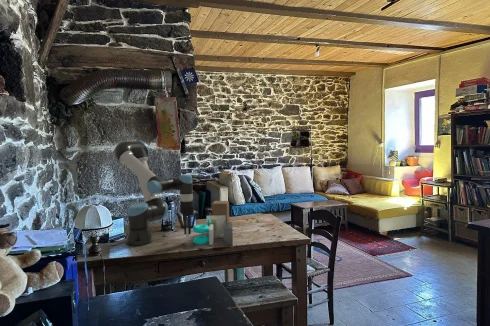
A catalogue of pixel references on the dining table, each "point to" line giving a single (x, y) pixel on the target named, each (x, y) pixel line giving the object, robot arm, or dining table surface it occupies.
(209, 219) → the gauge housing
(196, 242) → the donuts
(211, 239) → the gauge plate
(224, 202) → the wooden block
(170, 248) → the dining table surface
